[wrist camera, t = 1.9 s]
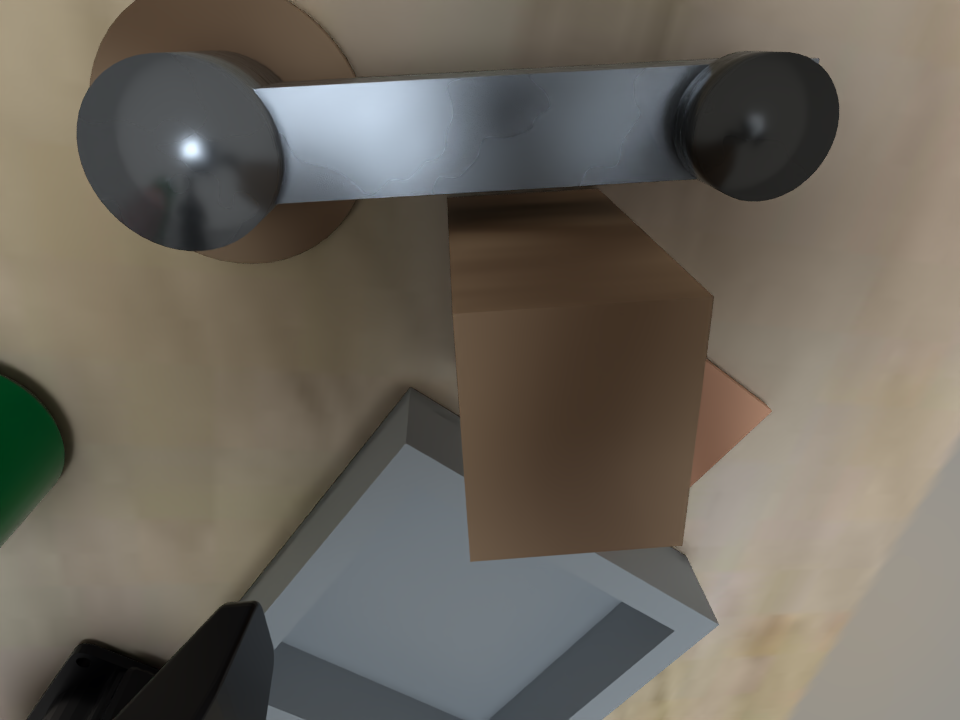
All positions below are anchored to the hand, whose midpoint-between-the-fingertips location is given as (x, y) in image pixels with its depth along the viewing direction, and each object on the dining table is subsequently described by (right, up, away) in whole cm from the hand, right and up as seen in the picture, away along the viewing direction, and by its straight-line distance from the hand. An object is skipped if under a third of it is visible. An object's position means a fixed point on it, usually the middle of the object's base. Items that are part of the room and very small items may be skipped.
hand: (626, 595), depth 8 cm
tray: (-3, -5, +15) cm, 16 cm away
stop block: (-1, +5, +10) cm, 11 cm away
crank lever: (-2, +9, +7) cm, 12 cm away
